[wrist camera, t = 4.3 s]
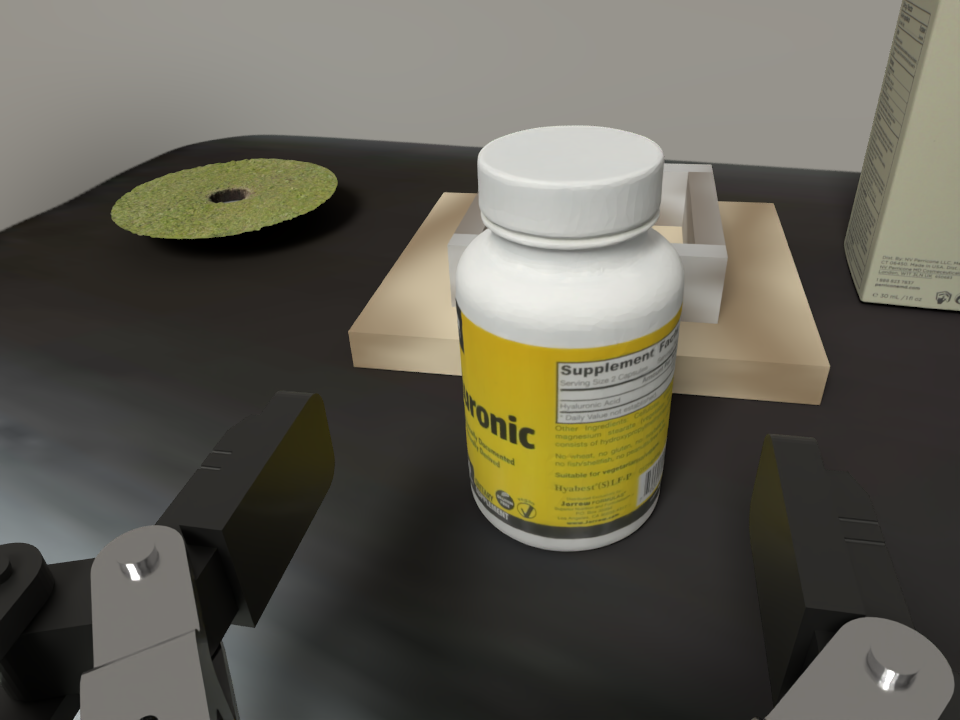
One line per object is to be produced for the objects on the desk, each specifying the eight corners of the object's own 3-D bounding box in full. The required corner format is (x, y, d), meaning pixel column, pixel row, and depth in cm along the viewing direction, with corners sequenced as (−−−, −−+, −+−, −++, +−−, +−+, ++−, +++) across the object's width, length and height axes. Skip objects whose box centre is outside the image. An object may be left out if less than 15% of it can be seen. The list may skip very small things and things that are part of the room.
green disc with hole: (317, 271, 34) (309, 232, 33) (80, 277, 34) (66, 238, 33) (359, 187, 43) (354, 154, 42) (173, 192, 44) (164, 160, 43)
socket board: (768, 233, 35) (783, 150, 33) (819, 405, 24) (848, 295, 21) (446, 220, 38) (440, 144, 36) (354, 366, 27) (337, 268, 25)
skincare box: (981, 319, 28) (1122, -49, 21) (856, 306, 29) (952, -45, 22) (945, 249, 33) (1049, -64, 26) (840, 241, 34) (914, -61, 27)
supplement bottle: (448, 451, 23) (420, 131, 17) (608, 414, 24) (629, 105, 18) (502, 583, 18) (489, 211, 13) (696, 530, 19) (757, 170, 14)
